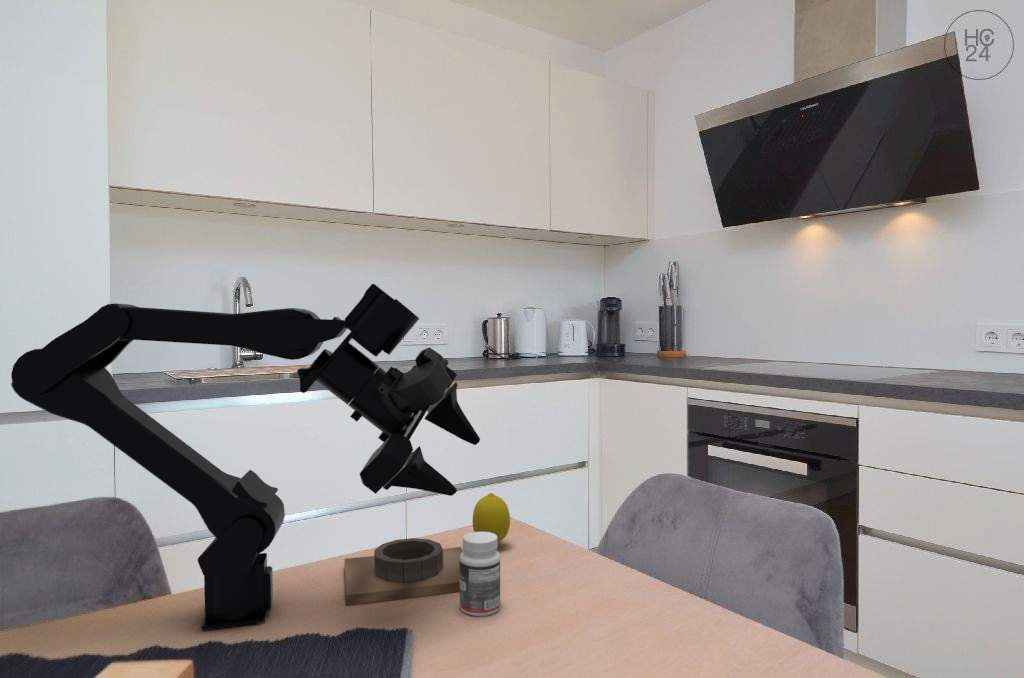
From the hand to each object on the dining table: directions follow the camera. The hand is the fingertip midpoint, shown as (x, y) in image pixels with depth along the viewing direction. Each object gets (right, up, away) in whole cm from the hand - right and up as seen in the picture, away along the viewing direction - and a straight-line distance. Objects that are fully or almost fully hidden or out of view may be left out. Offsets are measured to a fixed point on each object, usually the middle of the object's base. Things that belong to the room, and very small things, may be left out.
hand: (466, 466), depth 77 cm
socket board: (-8, -16, +6) cm, 19 cm away
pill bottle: (+2, -16, -3) cm, 16 cm away
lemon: (+2, -16, +17) cm, 23 cm away
